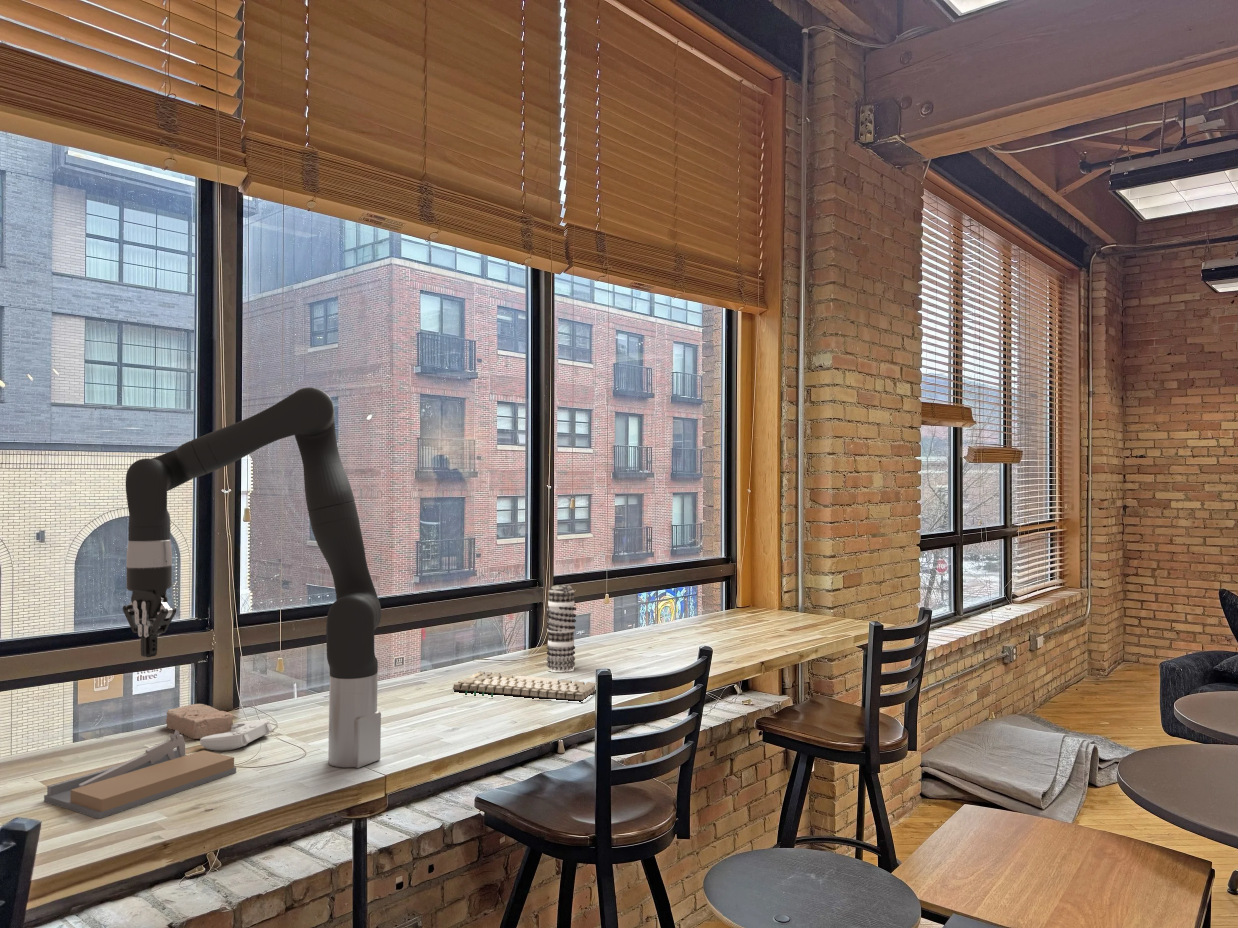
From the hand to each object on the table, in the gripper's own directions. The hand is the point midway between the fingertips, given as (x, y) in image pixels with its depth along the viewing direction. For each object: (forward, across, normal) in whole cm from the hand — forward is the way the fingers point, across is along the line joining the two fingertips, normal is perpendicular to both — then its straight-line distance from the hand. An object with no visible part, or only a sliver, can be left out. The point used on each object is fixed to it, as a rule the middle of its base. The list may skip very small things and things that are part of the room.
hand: (148, 656), depth 161 cm
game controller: (+23, +3, -23) cm, 32 cm away
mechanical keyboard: (+24, -26, -90) cm, 97 cm away
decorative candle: (+24, -20, -117) cm, 121 cm away
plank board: (+22, -4, +4) cm, 23 cm away
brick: (+23, +19, -25) cm, 39 cm away
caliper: (+22, 0, +4) cm, 22 cm away
